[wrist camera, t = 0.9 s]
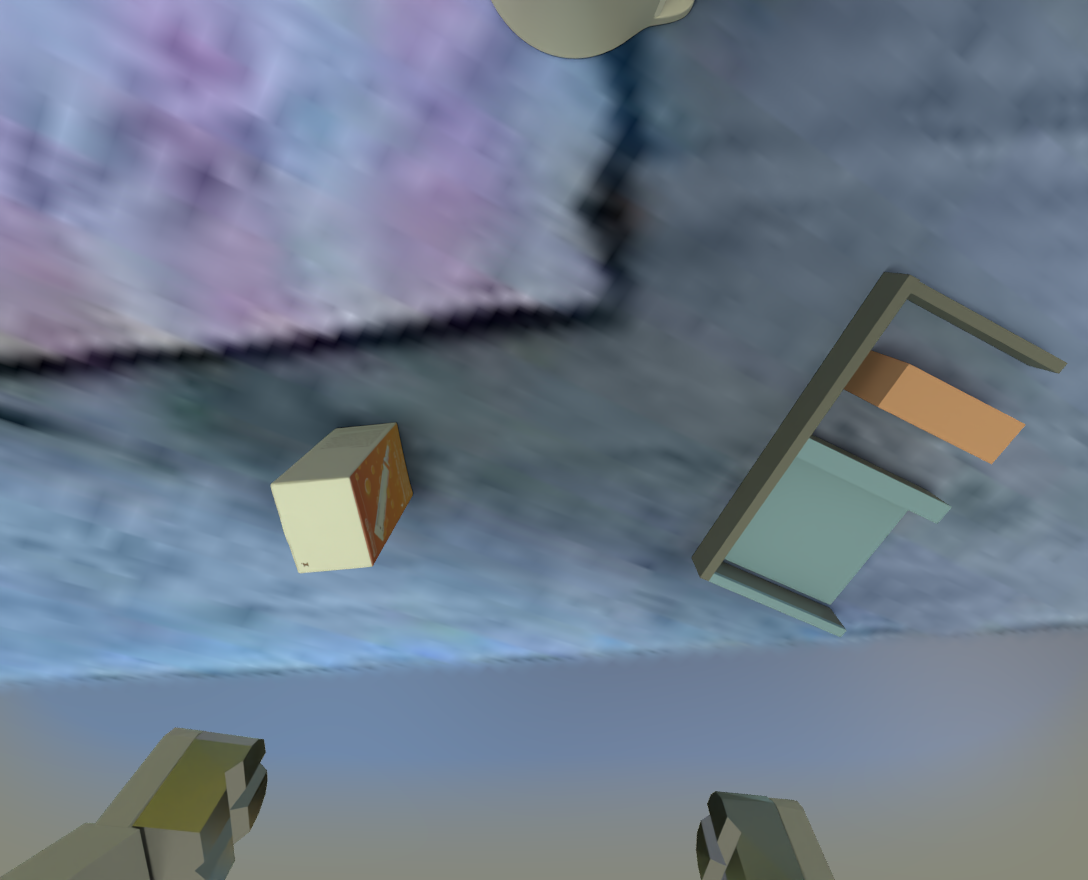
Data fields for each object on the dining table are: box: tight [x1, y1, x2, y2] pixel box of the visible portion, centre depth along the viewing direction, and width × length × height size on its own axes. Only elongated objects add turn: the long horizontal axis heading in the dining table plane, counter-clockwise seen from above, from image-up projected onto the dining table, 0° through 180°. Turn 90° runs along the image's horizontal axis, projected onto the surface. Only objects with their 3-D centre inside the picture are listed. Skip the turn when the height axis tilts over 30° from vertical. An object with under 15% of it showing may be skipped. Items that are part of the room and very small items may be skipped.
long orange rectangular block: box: [844, 351, 1025, 464], centre depth 47 cm, size 4×12×6 cm, turn 65°
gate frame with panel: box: [692, 272, 1067, 637], centre depth 50 cm, size 32×17×4 cm, turn 155°
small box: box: [271, 423, 413, 573], centre depth 46 cm, size 8×6×13 cm
